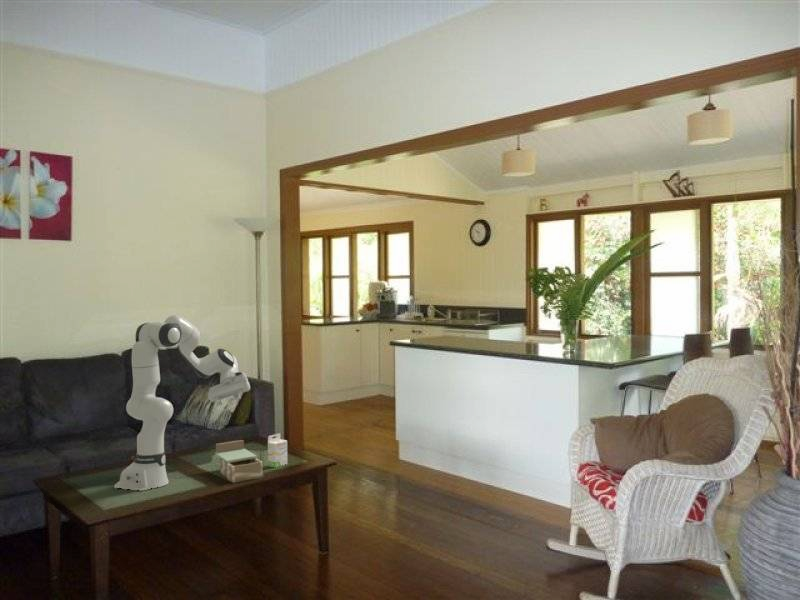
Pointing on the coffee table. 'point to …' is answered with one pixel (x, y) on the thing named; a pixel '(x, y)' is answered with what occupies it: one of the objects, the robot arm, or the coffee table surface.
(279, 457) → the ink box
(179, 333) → the robot arm
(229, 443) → the lid
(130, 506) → the coffee table surface
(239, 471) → the box
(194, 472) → the coffee table surface
